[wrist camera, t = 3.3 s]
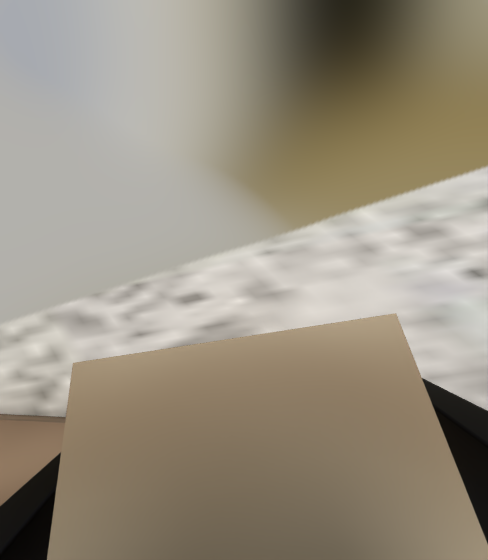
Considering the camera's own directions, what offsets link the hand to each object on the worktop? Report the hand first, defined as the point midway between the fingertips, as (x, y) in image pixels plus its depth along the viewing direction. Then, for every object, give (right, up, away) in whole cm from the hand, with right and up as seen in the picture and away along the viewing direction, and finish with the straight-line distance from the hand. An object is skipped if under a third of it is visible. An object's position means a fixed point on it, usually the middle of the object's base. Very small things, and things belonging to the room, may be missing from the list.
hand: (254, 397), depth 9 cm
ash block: (+1, -4, +5) cm, 7 cm away
